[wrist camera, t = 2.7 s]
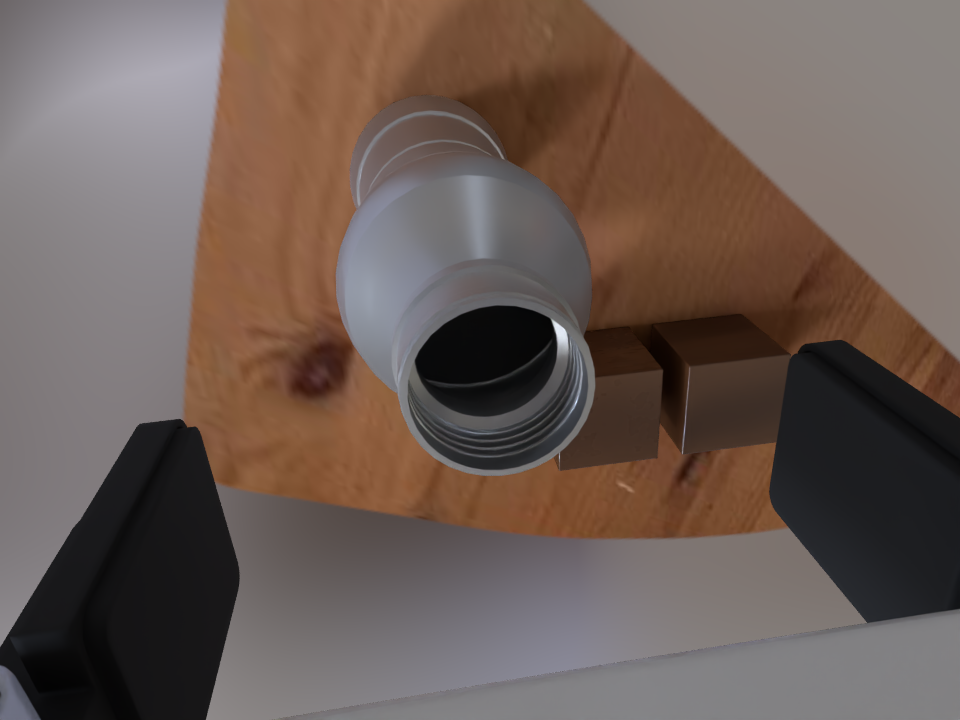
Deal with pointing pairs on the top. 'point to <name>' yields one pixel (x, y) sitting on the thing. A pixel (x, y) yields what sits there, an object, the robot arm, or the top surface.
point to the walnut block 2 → (719, 383)
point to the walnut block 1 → (618, 404)
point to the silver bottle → (466, 289)
